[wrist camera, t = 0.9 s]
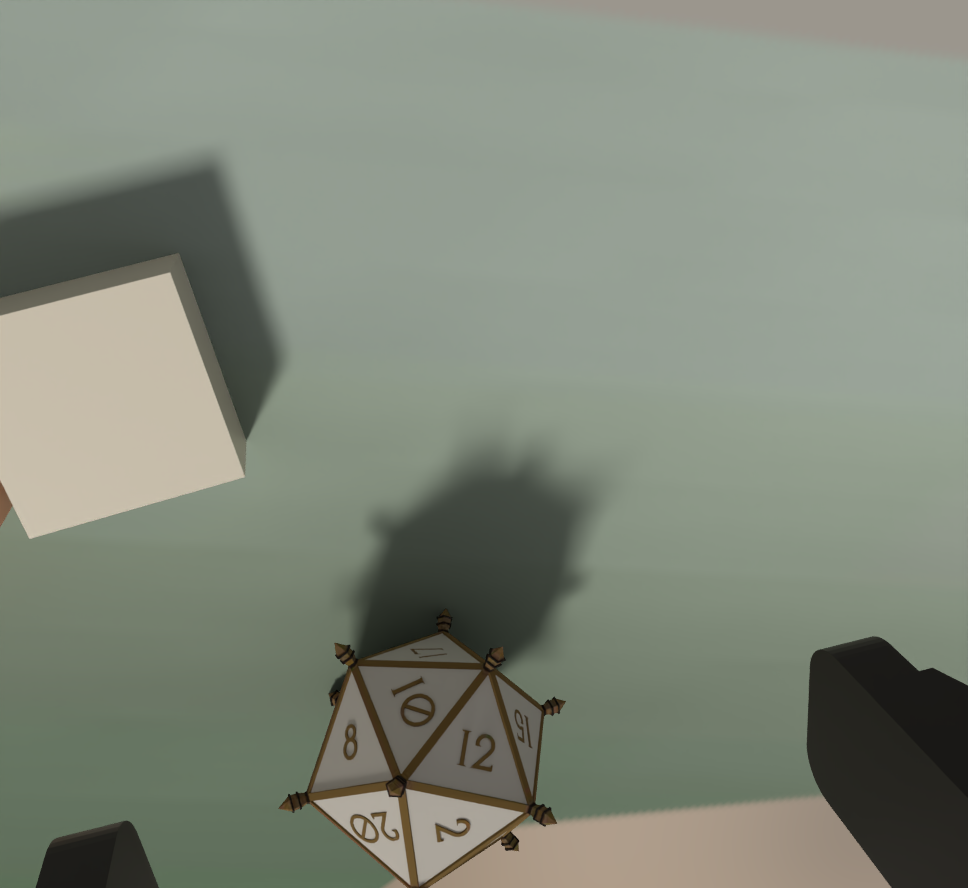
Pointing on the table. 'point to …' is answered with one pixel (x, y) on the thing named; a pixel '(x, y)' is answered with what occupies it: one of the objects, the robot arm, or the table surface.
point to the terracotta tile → (4, 504)
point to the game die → (428, 756)
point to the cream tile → (111, 397)
